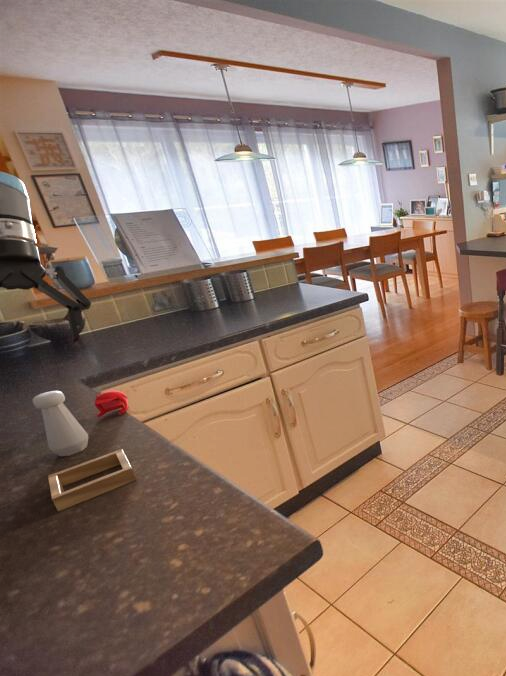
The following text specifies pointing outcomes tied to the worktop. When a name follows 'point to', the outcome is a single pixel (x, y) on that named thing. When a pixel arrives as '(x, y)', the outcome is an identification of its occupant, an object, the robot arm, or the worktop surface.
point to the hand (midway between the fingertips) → (28, 343)
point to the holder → (93, 487)
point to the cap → (111, 402)
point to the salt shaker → (60, 424)
